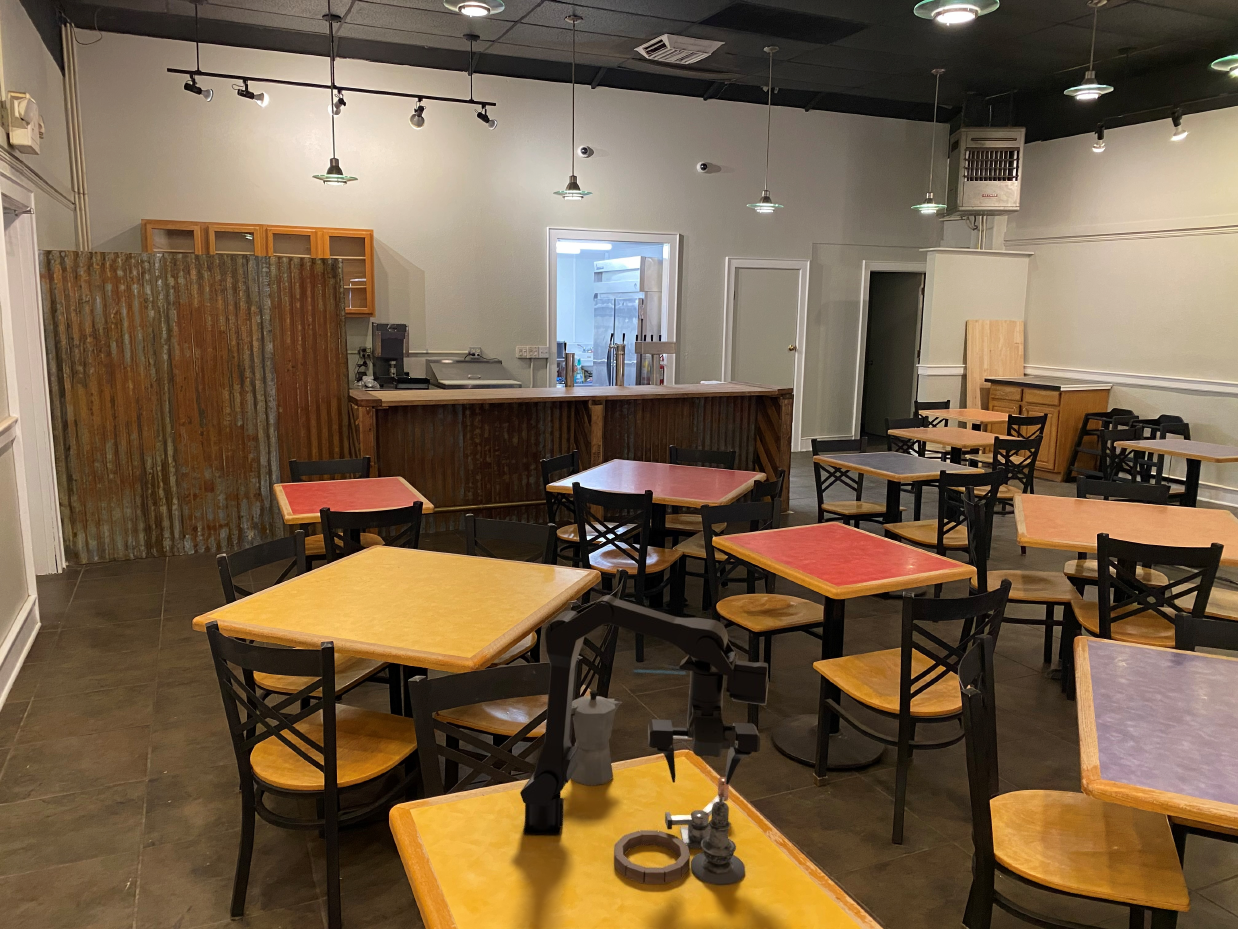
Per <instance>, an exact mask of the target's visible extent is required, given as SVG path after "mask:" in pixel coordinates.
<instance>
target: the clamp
mask: <svg viewBox="0 0 1238 929" xmlns="http://www.w3.org/2000/svg"><path fill="white" fill-rule="evenodd" d="M729 789H730V783H729V784H728V785H726V783H725V776H721V777H718V781H717V795H716V796H715V798H713V799H712V800H711V801H710V802H709V803H708V804H707V806H705V807H704V808H703V809H695V810H693V811H691V813H690V814H689V815H688V814H687V815H686V814H685V815H682V814H681V815H671V812H670V811H665V812H664V813H665V814H664V824H665V826H666V829H667V830H673V826H688V825H691V826H692V827H693V828H696V829H705V828H707V827H708V826H709V821H710V820H709V819H710V817H711V816H712V806H713V804H714V803H715V802H718V801H719V799H720V798H722V799H723V801H722V802H727V801H728V800H729V794H730V793H729V792H730V791H729Z"/></svg>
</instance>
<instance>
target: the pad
mask: <svg viewBox="0 0 1238 929" xmlns="http://www.w3.org/2000/svg"><path fill="white" fill-rule="evenodd" d="M704 858H706V857H705V855H704V853H703V851H701V852H699V853H697V854H695V855H694V856H693V857H692V859H690V870H691V872H692V874H693V875H694V876H695V877H696V878H698V879H699V880H701V881H702V882H704V883H706V884H710V885H717V886H727V885H732V884H735V883H737V882H739V881H741V880H742V879H743V877H744V876H745V873H746V872H745V871H746V867H745V864H744V862H743V861H742V859H741V858H739V857H738V856H736V855H735V854H733V856H732V858H731V860H730V861H731V862H732V863H733V869H732V871H731V872H729V873H727V874H713V873H710V872H708V871H706V870H705V869H704V868H703V867H702V861H703V859H704Z"/></svg>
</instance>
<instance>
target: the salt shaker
mask: <svg viewBox="0 0 1238 929" xmlns="http://www.w3.org/2000/svg"><path fill="white" fill-rule="evenodd" d="M722 801H723V799H722V798H720V799H719V801H718V802H715V803H714V804H713V806H712V814H711V819H710V820H709V825H710V826H711V828H710V836H709V837H706V838H704V839H703V840H702V842H701V847H702V848H703V849H702V852H703V853H704V855H705V857H706V858H704V859H703V861H702V867H703V868H704V869H705V870H706V871H708V872H710V873H713V874H727V873H729V872H731V871H732V869H733V863H732V862H731V861H730V860H731V858H732V856H733V855H735V851H736V850H737V845H736V843H735V842H734V841H733V840H732V839H730V838H729V828H730V827H731V822H730V821H729V816H730V814H729V812H730V807H729V805H728V804H727V803H726V801H724V802H722Z"/></svg>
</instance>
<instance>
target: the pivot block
mask: <svg viewBox="0 0 1238 929" xmlns="http://www.w3.org/2000/svg"><path fill="white" fill-rule="evenodd" d="M710 828H711V826H710V825H709V826H708V827H707V828H705V829H696V828H693V827H692V826H691V825H687V826H680V829H679V830H680V834H681V840H682V841H683V842H684V843H686V844H687V846H688V849H691V850H692V849H696V850H697V849H700V850H701V849H702V850H703V848H702V847H701V842H702V840H703V839H704V838H706V837H709V836H710Z"/></svg>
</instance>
